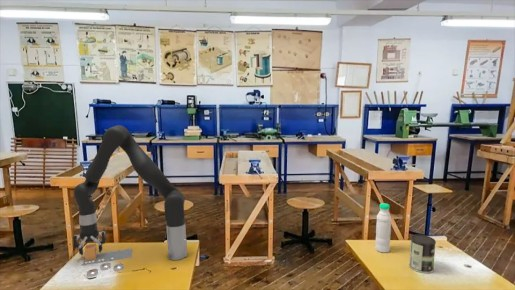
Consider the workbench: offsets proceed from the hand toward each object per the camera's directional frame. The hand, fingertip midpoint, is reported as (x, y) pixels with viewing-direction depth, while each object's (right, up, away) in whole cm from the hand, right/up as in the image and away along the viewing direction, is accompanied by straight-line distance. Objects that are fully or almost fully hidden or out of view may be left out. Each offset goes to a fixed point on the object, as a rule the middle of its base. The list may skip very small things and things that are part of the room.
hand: (91, 252), depth 155 cm
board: (+8, -3, +1) cm, 9 cm away
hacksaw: (+28, -4, -1) cm, 29 cm away
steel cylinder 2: (+12, -5, -9) cm, 16 cm away
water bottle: (+149, -1, +7) cm, 149 cm away
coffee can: (+160, -4, -10) cm, 161 cm away
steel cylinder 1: (+8, -6, -14) cm, 18 cm away
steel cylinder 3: (+18, -5, -10) cm, 22 cm away
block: (0, -2, 0) cm, 2 cm away
